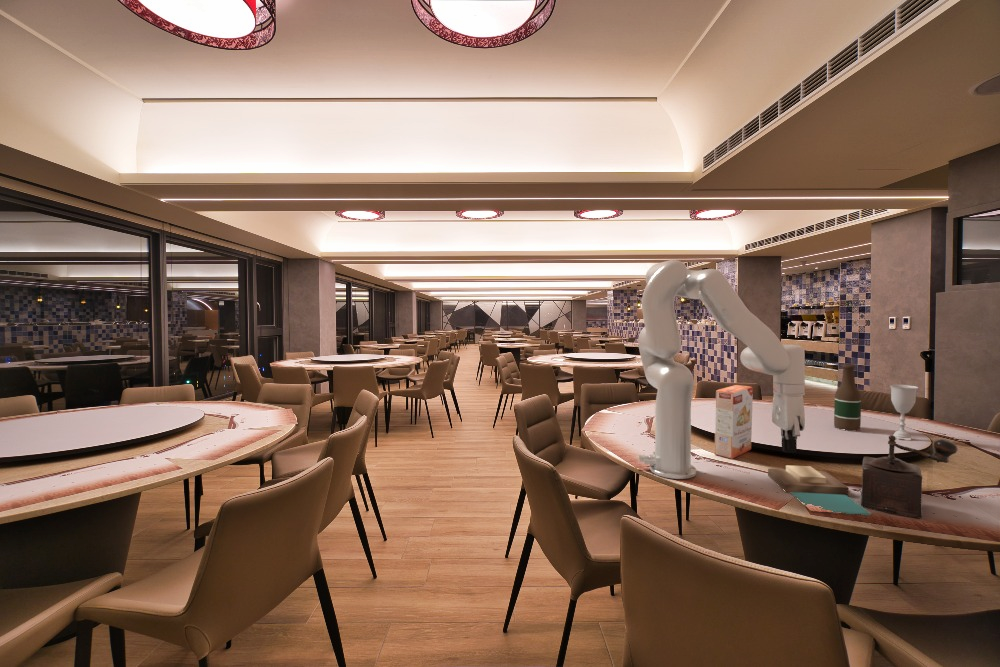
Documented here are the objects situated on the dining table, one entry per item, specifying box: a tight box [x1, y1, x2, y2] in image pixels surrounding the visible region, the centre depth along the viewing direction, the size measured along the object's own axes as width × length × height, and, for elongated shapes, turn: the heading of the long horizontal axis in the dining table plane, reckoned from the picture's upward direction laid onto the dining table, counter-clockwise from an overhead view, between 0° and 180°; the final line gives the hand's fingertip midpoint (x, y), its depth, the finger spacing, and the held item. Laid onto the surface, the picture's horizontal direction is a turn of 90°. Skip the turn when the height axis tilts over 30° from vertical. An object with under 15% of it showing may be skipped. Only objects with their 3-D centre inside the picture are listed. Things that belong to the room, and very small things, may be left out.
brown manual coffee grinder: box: [860, 434, 958, 519], centre depth 101 cm, size 16×11×18 cm
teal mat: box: [790, 492, 872, 516], centre depth 105 cm, size 12×10×1 cm
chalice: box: [889, 384, 919, 438], centre depth 151 cm, size 7×7×18 cm
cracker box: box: [714, 384, 754, 460], centre depth 141 cm, size 14×6×21 cm, turn 129°
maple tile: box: [785, 464, 826, 484], centre depth 116 cm, size 6×8×2 cm
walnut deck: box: [767, 468, 850, 497], centre depth 115 cm, size 14×11×2 cm
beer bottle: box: [833, 363, 862, 432], centre depth 164 cm, size 8×8×24 cm
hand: (789, 451), depth 126 cm, fingers closed
